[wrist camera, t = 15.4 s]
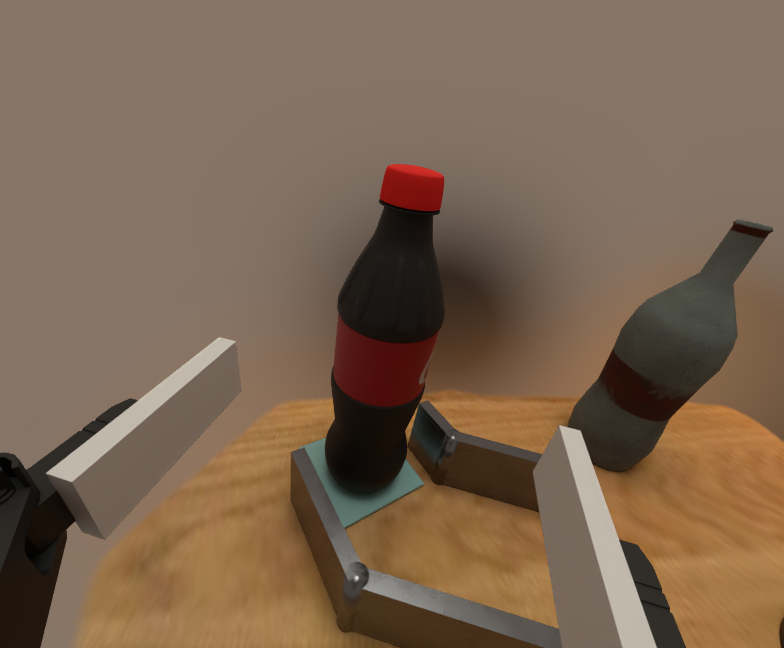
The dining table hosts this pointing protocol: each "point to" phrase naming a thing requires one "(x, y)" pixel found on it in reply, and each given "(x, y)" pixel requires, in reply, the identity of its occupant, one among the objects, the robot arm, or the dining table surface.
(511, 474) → the channel
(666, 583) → the dining table surface
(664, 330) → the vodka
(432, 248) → the cola bottle
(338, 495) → the tile
